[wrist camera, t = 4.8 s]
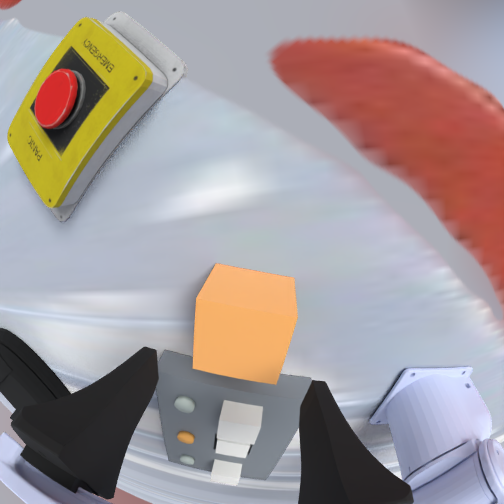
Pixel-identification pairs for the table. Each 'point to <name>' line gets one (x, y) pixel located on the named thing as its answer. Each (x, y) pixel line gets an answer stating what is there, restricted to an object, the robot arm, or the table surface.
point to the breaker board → (210, 413)
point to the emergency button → (88, 105)
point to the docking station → (25, 375)
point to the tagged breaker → (232, 448)
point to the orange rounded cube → (244, 323)
